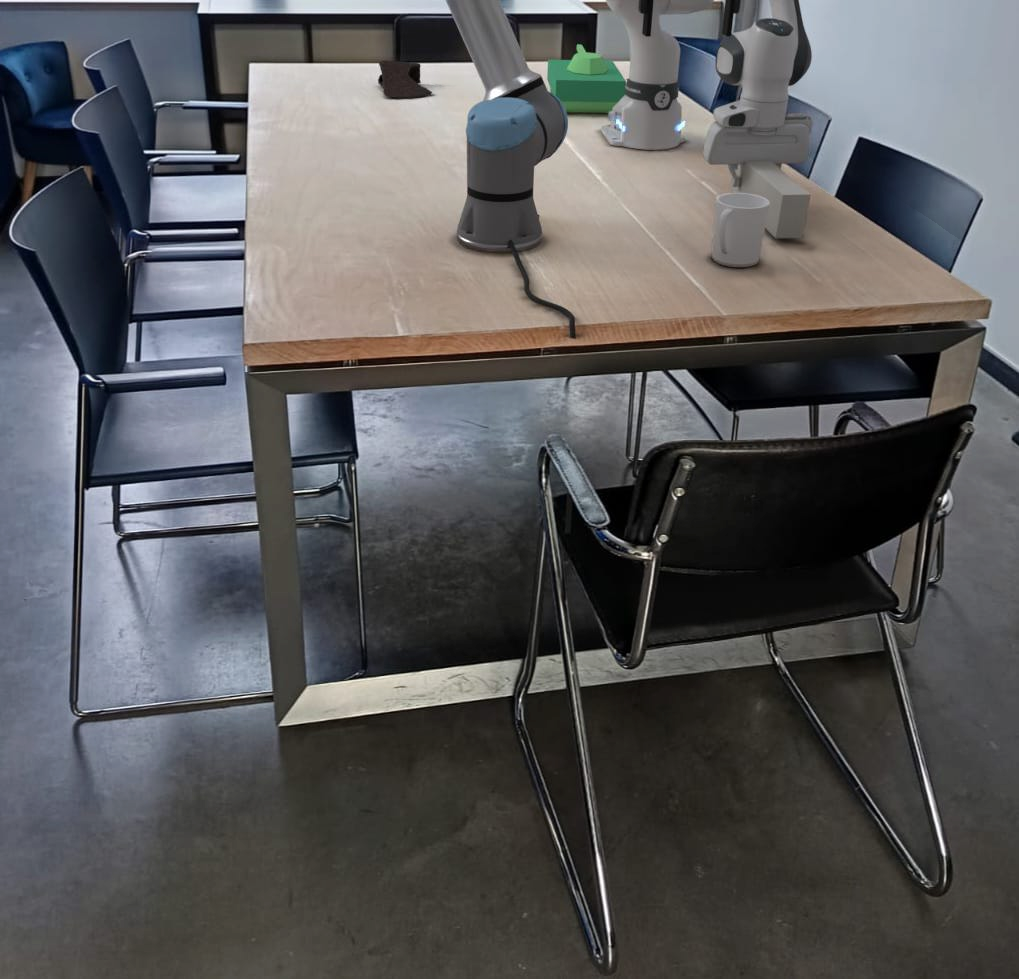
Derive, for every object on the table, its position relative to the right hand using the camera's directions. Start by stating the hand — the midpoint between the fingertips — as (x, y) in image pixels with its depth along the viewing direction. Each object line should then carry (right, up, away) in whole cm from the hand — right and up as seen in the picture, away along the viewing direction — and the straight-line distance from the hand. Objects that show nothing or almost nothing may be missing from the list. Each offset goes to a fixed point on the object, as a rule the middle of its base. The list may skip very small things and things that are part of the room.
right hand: (751, 185), depth 214 cm
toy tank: (-28, +45, +80) cm, 96 cm away
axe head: (-77, +50, +86) cm, 126 cm away
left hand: (-18, +15, -34) cm, 41 cm away
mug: (-9, -20, -25) cm, 34 cm away
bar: (+1, -7, -6) cm, 10 cm away
